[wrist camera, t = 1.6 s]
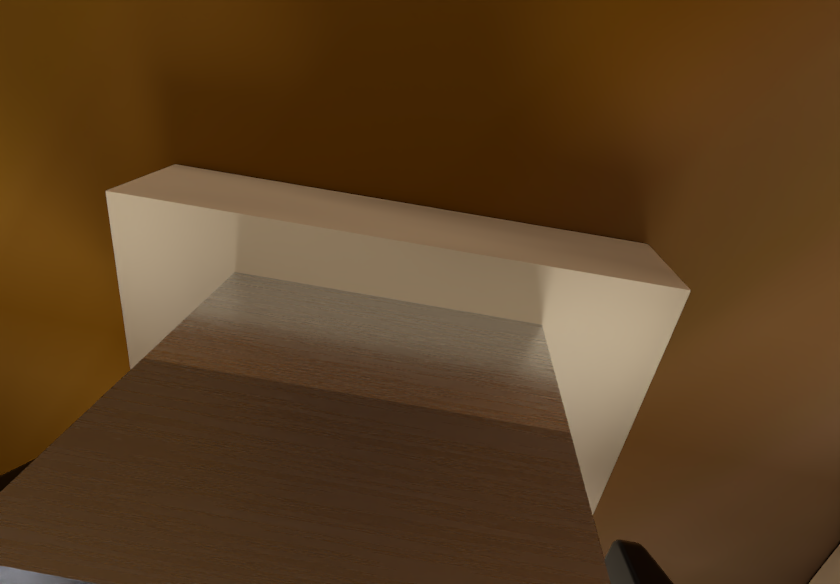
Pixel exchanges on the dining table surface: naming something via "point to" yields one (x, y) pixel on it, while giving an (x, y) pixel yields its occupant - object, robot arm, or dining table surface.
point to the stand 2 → (829, 570)
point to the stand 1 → (407, 278)
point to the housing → (314, 454)
